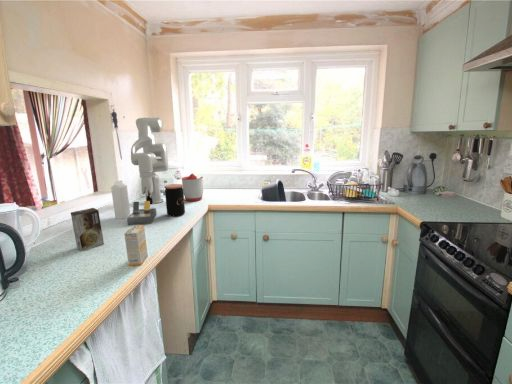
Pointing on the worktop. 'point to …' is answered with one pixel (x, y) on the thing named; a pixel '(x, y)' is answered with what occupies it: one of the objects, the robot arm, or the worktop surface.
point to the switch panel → (142, 217)
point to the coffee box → (87, 228)
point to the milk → (120, 200)
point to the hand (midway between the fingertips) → (149, 204)
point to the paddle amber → (146, 206)
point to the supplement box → (136, 245)
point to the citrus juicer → (192, 187)
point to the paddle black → (135, 207)
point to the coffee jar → (174, 200)
